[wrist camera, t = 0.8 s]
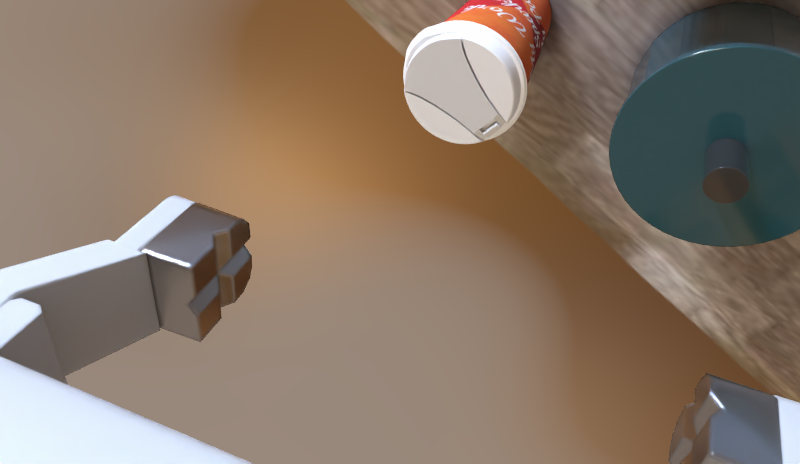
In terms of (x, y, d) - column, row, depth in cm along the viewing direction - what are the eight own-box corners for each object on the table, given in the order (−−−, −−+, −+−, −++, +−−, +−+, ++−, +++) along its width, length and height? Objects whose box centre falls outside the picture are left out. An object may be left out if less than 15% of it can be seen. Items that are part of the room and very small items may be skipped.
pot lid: (688, -3, 38) (683, 26, 34) (919, 105, 36) (939, 147, 33) (574, 177, 47) (562, 215, 43) (757, 268, 46) (759, 314, 42)
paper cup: (589, 19, 48) (550, 104, 38) (510, 83, 53) (457, 173, 43) (516, -67, 46) (454, -3, 36) (442, 7, 51) (369, 81, 41)
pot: (696, -31, 44) (690, 13, 37) (880, 54, 43) (906, 113, 36) (601, 123, 52) (583, 180, 46) (752, 197, 51) (755, 265, 45)
